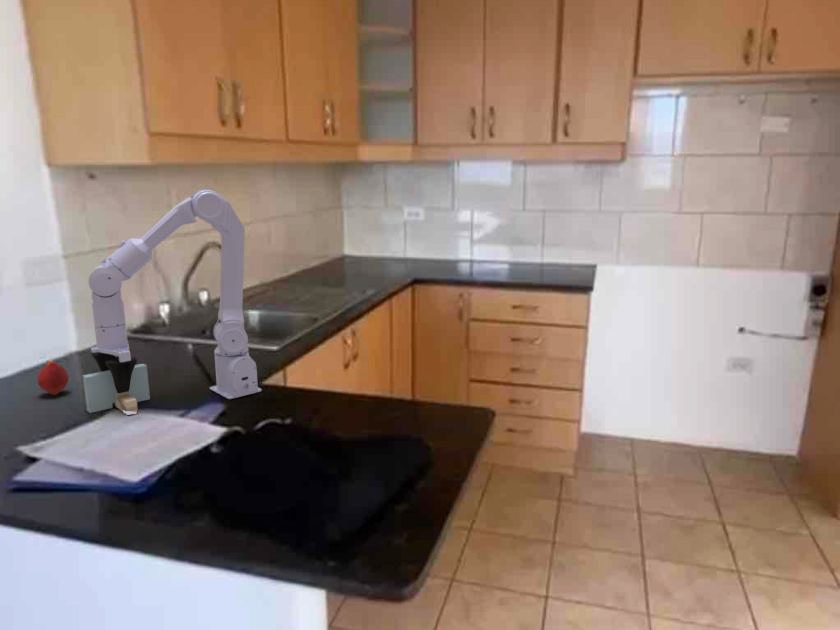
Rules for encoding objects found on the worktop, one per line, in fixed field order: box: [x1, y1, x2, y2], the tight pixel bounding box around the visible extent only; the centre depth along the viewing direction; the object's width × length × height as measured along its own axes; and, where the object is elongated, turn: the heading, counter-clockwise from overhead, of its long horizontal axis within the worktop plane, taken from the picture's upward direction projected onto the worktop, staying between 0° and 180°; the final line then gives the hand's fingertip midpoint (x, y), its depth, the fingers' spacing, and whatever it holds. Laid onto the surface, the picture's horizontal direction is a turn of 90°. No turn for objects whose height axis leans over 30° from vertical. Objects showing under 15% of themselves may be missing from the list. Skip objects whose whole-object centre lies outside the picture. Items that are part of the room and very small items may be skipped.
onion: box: [37, 359, 70, 396], centre depth 139 cm, size 6×6×8 cm
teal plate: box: [82, 363, 151, 414], centre depth 133 cm, size 2×12×8 cm, turn 133°
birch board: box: [112, 392, 139, 411], centre depth 134 cm, size 16×2×3 cm, turn 43°
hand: (117, 387), depth 133 cm, fingers open, 7 cm apart
